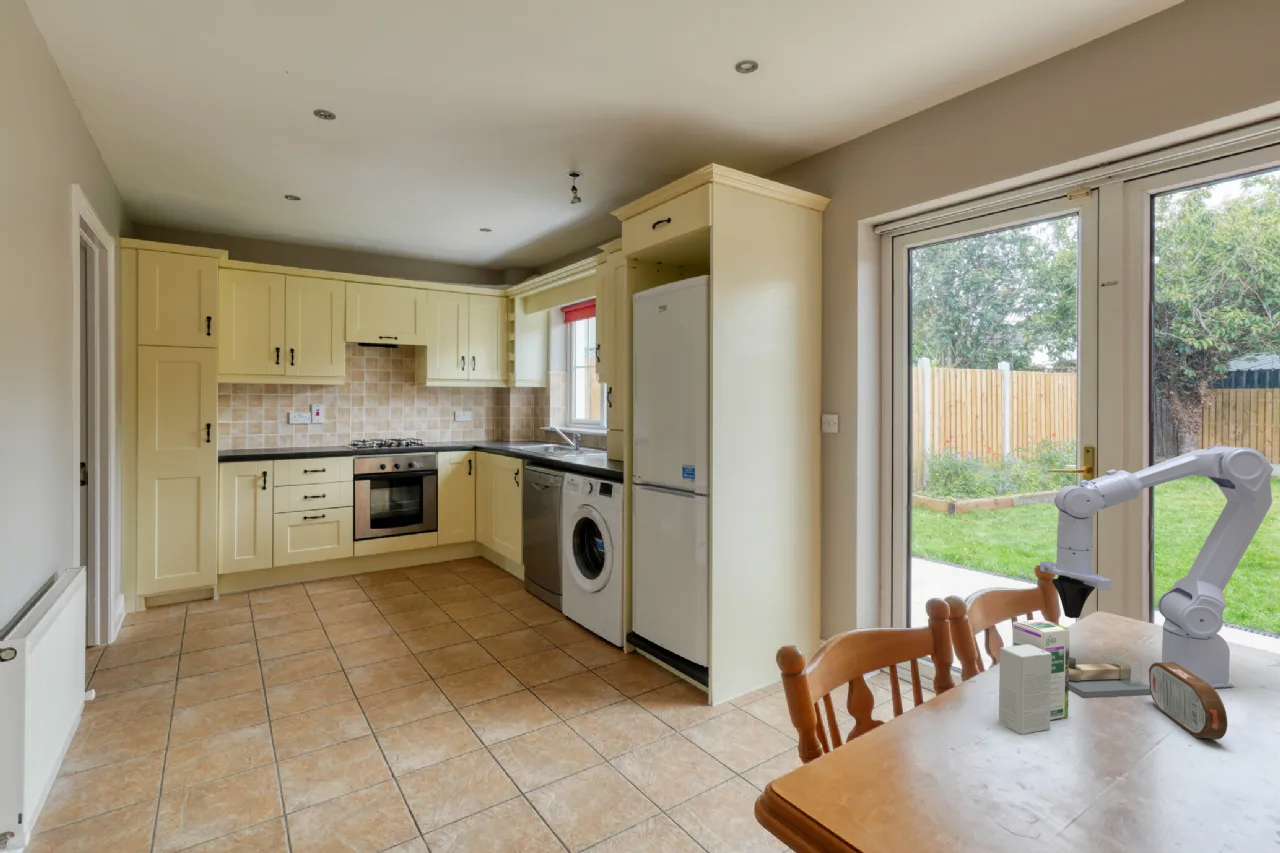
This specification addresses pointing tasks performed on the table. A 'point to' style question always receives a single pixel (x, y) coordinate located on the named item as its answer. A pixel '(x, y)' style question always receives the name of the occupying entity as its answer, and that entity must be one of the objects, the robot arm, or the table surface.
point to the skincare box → (1025, 688)
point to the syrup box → (1057, 644)
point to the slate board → (1106, 688)
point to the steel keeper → (1126, 669)
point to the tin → (1188, 700)
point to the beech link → (1093, 671)
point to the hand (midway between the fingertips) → (1072, 616)
